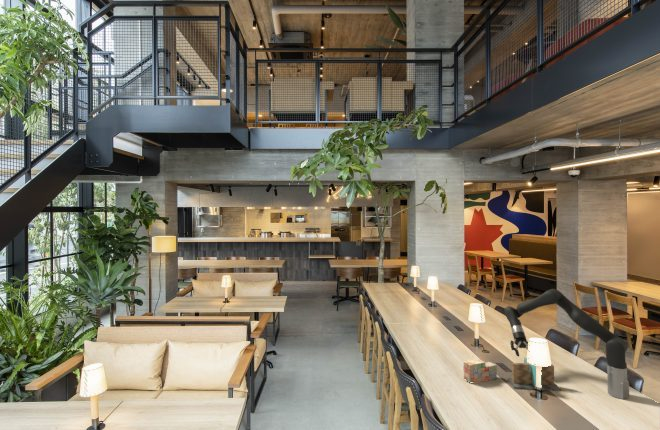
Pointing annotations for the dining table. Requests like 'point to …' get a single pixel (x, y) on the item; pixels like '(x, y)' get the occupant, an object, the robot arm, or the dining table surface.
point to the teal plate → (533, 373)
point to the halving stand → (524, 377)
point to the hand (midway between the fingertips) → (525, 356)
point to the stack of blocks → (479, 371)
